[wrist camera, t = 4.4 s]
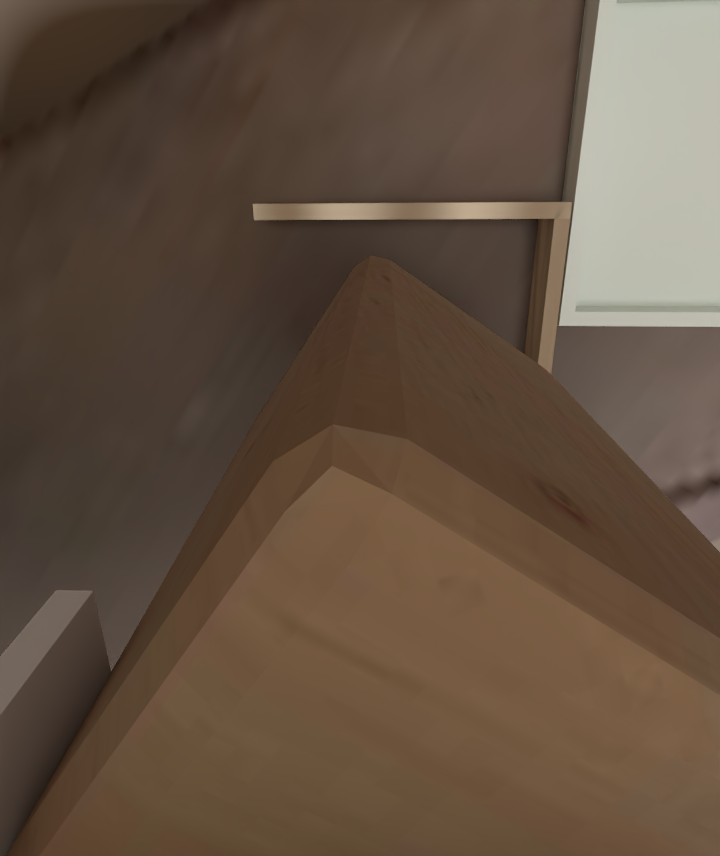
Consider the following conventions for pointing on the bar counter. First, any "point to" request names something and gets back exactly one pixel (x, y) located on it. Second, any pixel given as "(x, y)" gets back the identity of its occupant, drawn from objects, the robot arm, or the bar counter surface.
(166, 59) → the bar counter surface
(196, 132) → the bar counter surface
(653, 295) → the tray
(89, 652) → the robot arm
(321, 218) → the bay
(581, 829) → the wooden block
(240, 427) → the bar counter surface
